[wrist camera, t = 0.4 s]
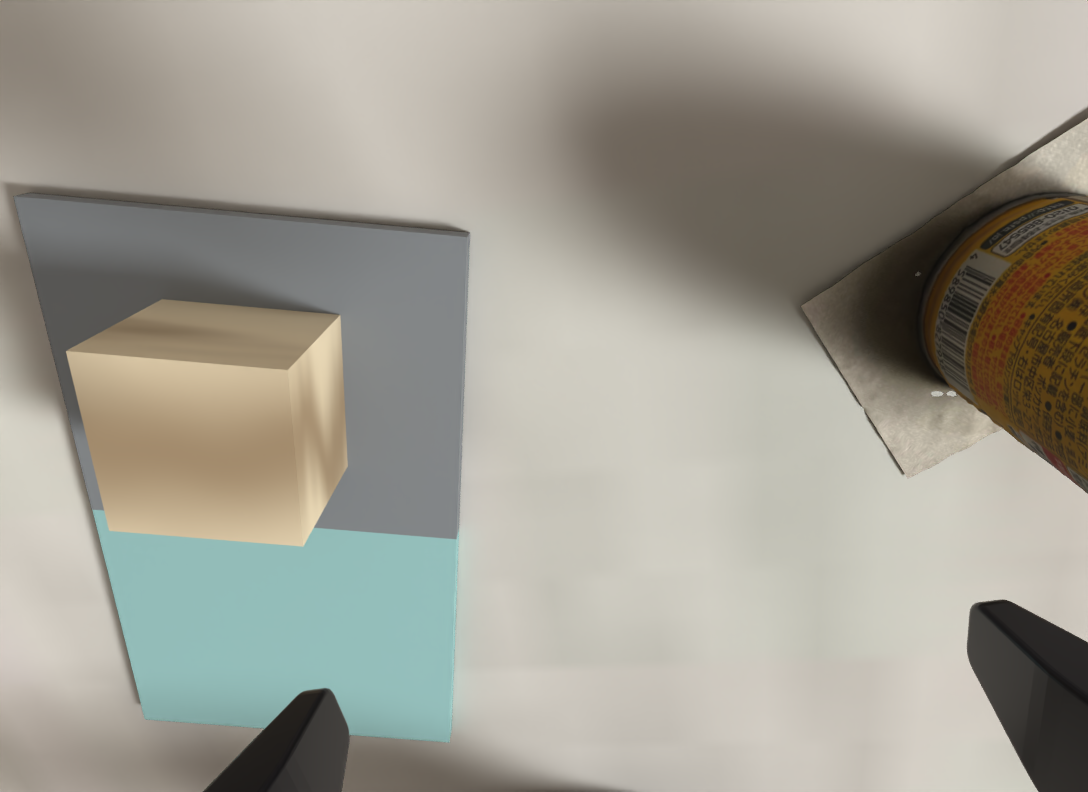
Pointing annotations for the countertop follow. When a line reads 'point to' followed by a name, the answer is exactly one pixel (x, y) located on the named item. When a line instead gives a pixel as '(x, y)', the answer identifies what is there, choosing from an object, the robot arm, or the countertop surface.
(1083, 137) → the condiment
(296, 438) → the beech block
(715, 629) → the countertop surface
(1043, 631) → the robot arm
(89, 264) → the runner mat
